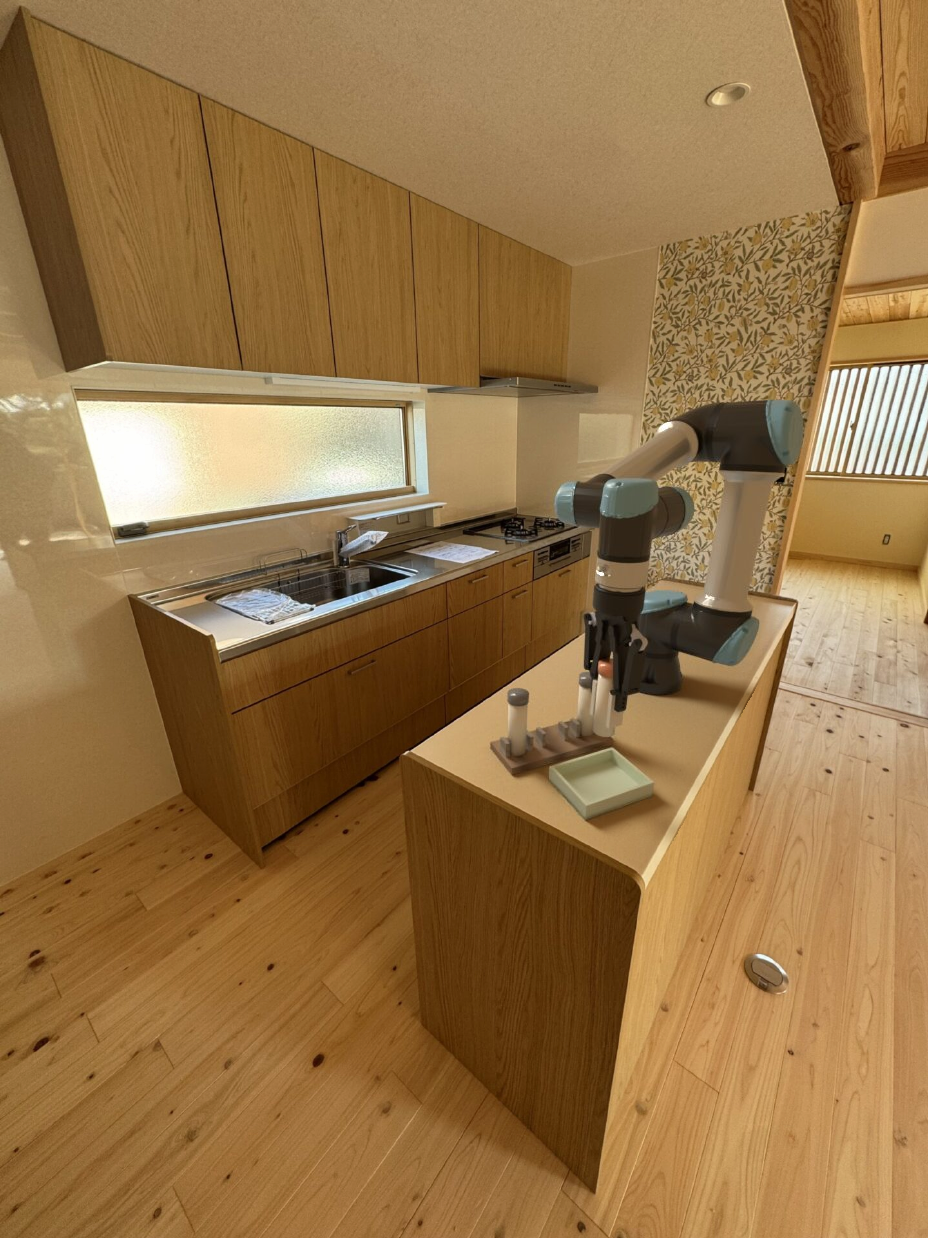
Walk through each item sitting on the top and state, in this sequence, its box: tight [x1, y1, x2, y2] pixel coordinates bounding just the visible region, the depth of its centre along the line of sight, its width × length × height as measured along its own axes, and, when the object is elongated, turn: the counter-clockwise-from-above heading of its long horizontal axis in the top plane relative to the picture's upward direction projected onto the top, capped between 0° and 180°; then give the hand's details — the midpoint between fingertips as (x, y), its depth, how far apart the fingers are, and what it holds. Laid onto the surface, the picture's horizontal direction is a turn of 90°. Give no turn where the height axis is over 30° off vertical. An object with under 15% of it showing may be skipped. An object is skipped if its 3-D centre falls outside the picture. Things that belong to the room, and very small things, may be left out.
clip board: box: [489, 717, 614, 776], centre depth 99 cm, size 23×9×4 cm, turn 113°
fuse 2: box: [576, 671, 594, 736], centre depth 100 cm, size 4×4×13 cm
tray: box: [548, 747, 655, 821], centre depth 88 cm, size 14×11×3 cm
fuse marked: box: [593, 657, 616, 737], centre depth 82 cm, size 4×4×13 cm
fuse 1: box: [506, 687, 530, 756], centre depth 94 cm, size 4×4×13 cm
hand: (605, 719), depth 83 cm, fingers closed on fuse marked, 3 cm apart
